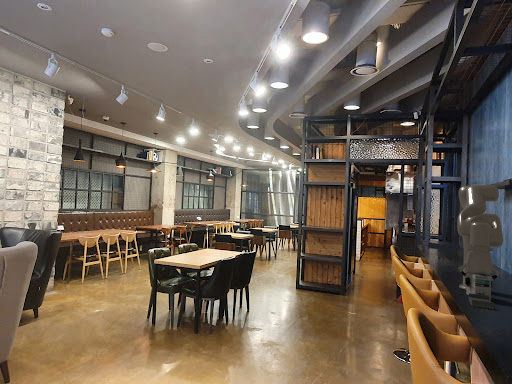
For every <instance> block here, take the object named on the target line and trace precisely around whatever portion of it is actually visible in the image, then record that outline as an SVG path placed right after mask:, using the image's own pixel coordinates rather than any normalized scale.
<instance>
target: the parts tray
mask: <svg viewBox="0 0 512 384" xmlns="http://www.w3.org/2000/svg"><path fill="white" fill-rule="evenodd" d="M468 301H469V303H470V305H471V307H474V308H481V307H482V308H481V309H488V308H489V310H495V303H494V302H492V301H489V296H487V295H479V294H472V293H469V295H468Z"/></svg>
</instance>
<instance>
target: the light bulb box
mask: <svg viewBox="0 0 512 384" xmlns="http://www.w3.org/2000/svg"><path fill="white" fill-rule="evenodd" d="M491 277H492V276H491ZM491 277H490V276H487V275H481V274H472V273H471V274H470V275H469V287H467V289H466V295H468V296H469V293H472V294H479V295H487V296H489V301H490V302H492V301H491V300H492V288H491Z"/></svg>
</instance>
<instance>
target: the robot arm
mask: <svg viewBox="0 0 512 384" xmlns="http://www.w3.org/2000/svg"><path fill="white" fill-rule="evenodd" d="M458 189H459V190H458V199H459V203H460V206H461V207H462V210H461V211H460V212H459V214H458V216H457V220H456V221H457V222H456V224H457V233H458V235H459V236H461V237H462V243H463V264H462V265H460V266H459V267H457V269H458V271H459V272H460V273H461V275H462V284H459V288H460V289H461V290H466V289H467V287H469V275H470V274H471V273H472V274H481V275H487V276H490V277H491V289H492V288H493V281H494V280H496V278H498V277H499V276H500V275H501V271H499V270H498V269H496V268H495V267H494V266H493V261H492V260H493V259H492V253H490V252H493V251H494V249H496V248H500V247H502V246H503V244H504V235H503V228H502V222H501V218H500V216H498V215H497V214H495V213H486V211H487V202H493V203H495V202H497V201H498V200H499V196H500V195H499V194H500V191H499V189H498V187H497V186H496V185H489V184H488V185H485V184H473V185H464V186H461V187H460V188H458ZM493 272H494V274H493ZM492 274H493V275H492Z"/></svg>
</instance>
